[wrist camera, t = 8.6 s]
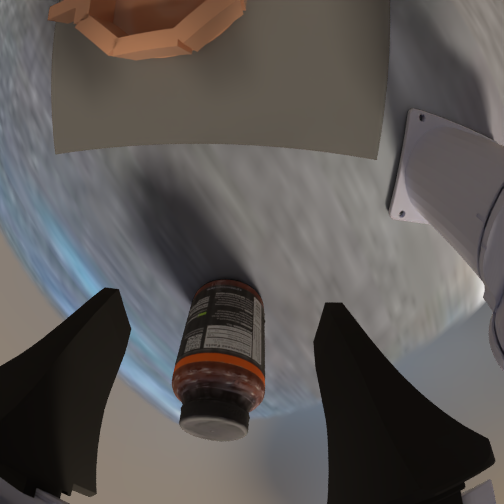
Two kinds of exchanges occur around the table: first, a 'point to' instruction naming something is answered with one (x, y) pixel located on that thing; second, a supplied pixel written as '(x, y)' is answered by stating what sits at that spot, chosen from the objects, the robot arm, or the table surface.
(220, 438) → the supplement bottle
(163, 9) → the terracotta pot
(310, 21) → the slate board
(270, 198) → the table surface
